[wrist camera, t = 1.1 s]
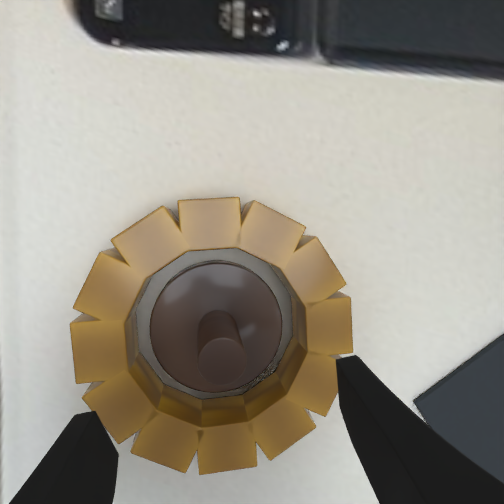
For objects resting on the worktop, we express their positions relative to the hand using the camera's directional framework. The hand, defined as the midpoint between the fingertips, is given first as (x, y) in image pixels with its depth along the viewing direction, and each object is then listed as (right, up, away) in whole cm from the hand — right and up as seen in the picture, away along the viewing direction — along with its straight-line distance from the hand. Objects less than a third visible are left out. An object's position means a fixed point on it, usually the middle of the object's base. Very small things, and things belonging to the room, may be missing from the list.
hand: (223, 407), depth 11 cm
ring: (-1, +1, +10) cm, 10 cm away
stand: (-1, +1, +10) cm, 10 cm away
